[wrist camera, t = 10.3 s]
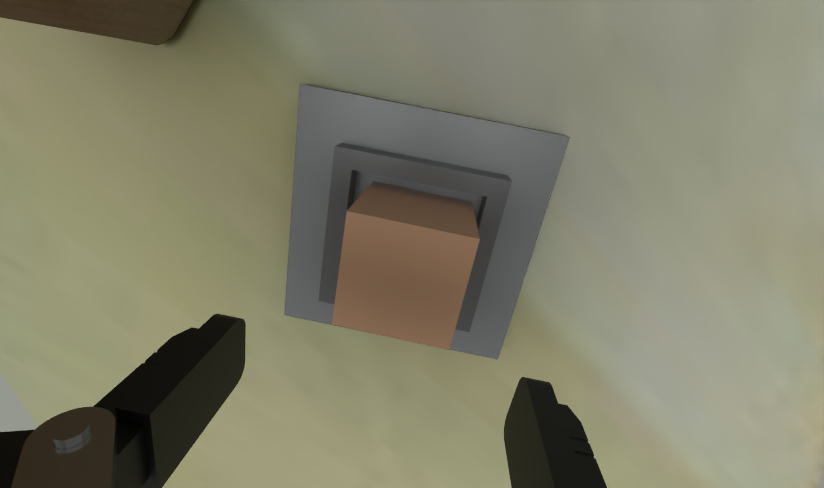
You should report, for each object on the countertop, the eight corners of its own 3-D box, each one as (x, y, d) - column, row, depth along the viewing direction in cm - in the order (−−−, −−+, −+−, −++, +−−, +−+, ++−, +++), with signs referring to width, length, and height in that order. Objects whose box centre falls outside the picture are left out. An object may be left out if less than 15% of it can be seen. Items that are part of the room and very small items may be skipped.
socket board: (306, 84, 21) (288, 82, 18) (564, 135, 20) (579, 140, 18) (290, 307, 26) (274, 327, 23) (495, 349, 26) (500, 375, 23)
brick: (373, 180, 21) (346, 211, 16) (471, 201, 21) (480, 239, 15) (359, 269, 23) (331, 324, 18) (449, 288, 23) (449, 349, 18)
